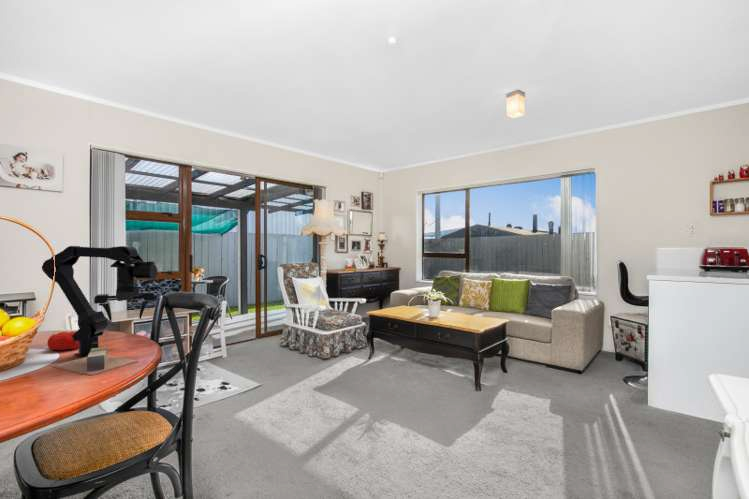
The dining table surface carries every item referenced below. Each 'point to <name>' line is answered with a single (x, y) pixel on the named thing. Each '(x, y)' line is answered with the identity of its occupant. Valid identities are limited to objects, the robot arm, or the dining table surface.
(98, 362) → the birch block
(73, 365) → the rubber mat
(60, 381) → the dining table surface
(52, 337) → the tomato
